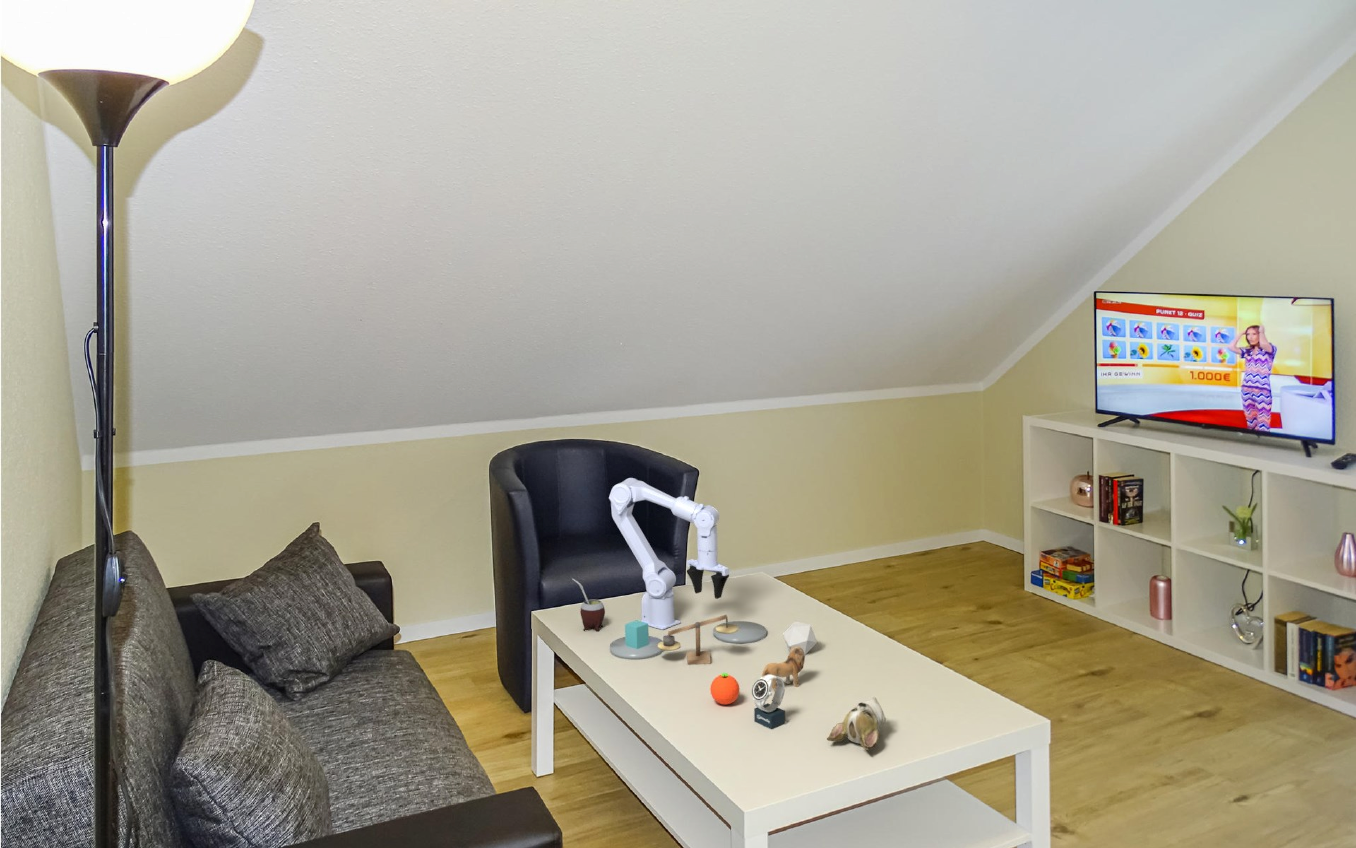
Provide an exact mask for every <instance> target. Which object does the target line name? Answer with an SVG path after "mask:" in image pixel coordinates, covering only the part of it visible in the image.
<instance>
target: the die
mask: <svg viewBox="0 0 1356 848" xmlns="http://www.w3.org/2000/svg"><path fill="white" fill-rule="evenodd" d="M782 637H783V640H784V642H785V644H786V648H787V649H788V651H789V652H790V650H791V649H792V648H794V647H800V648H802V649H803V651H804V653H805V655H807V654H808V653H809V651H810V650H812V648H813V647H814V646H815V645H816V644H817V643H818V641H817V637H816V635H815V632H814V630H813V628H812V625H811V624H809V623H804V622H800V621H797V620H795V621H794V622H793V623H791V625H790V626H789V627H788V628H787V629H785V630H784V631H783V633H782Z"/></svg>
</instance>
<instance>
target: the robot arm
mask: <svg viewBox="0 0 1356 848" xmlns="http://www.w3.org/2000/svg"><path fill="white" fill-rule="evenodd" d="M608 499H609V501H610V507H611V517H612V519H613V521H614V523H615V524H616V526H617V528H618V529H619V531H620V533H621V535H622V536H623V538H624V539H625V541H626V543H627V545H628V546H629V549H630V550H631V551H632V553H633V555H634V557H635V558H636V560H637V562H638V563H639V565H640V567H641V568H642V579H643V581H644V583H645V589H646V592H645V593H644V594H643V596H642V598H641V602H640V603H641V604H640V605H641V620H640V621H641V622H645V623H648V627H651V628H655V629H658V630H665V629H668V628H670V627H671V628H672V627H674V626H675V625H679V624H681V620H679V619H678V620H677V619H675V608H674V607H675V606H674V605H675V603H674V602H675V601H674V600H675V595H674V594H675V593H674V590H673V587H675V584H676V581H677V577H676V574H675V573H674V571H672V569H670V568H669V567H668V566H667V565H666V563H665V562H663V561H662V560H660V559H659V558H658V557H657V554H656V552H655V551H654V550H653V548H652V547H651V545H650V543H649V541H648V540H647V538H646V536H645V534H644V533H643V531H642V529H641V528H640V526H639V524H638V522H637V521H636V519H635V517H634V516H633V514H632V513H633V509H634V506H635V503H636V502H641V501H648V502H651V503H654V504H657V505H659V506H662V507H665V508H667V509H669V510H671V512H672V514H673V515H674V516H676V517H677V518H680V519H682V520H685V521H687V522H690V523H692V524H694V527H696V529H697V530H696V533H697V534H696V541H697V543H696V544H697V545H696V546H697V547H696V548H697V549H696V550H697V559H692V558H690V559H687V560H686V567H687V568H688V569H687V570H686V574H687V575H688V577H689V579H690V581H691V583H692V586H693V590H694V594H699V593H702V592H703V591H702V590H703V577H704V571H706V572H710V573H713V574H712V575H711V576H710V578H711V581H712V585H713V595H714V599H716V600H718V599H720V598H722V596H723V591H724V587H725V584H726V582H727V580H728V579H729V577H730V567H727V566H724V565H722V564H720V563H719V562H718V532H717V531H718V530H717V529H718V526H717V523H718V522H719V519H720V514H719V511H718V509H716V508H715V507H713V506H712V505H705V504H703V503H702V502H701V503H697V502H696V501H693V500H691V499H690V497H689V496H686V495H684V496H678V497H673V496H671V495H670V494H667V493H665V492H664V491H661V490H659V489H658V488H655V487H653V486H651V485H649V484H647V483H646V482H644V481H642V480H638V479H637V478H635V477H634V478H633V477H629V478H626V479H625V480H623V481H622V482H619V483H617V484H615V485H614V486H612V488H611V491H610V493H609V497H608ZM714 573H715V574H714Z"/></svg>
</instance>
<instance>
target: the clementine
mask: <svg viewBox="0 0 1356 848" xmlns="http://www.w3.org/2000/svg"><path fill="white" fill-rule="evenodd" d="M709 690H710V695H711V697H712V699H714V701H715V702H717V704H719V705H720V704H721V705H730V704H732V703H734V702H735V701H736V700H737V698H738V697H739V695H740V684H739V682H738V681H737V679H736V678H735V677H733V676H732V675H730V674H728V672H723V673H721V674H720V675H718V676H716V677H715V678H714V679H712V682H711V684H710V688H709Z"/></svg>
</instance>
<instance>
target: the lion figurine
mask: <svg viewBox="0 0 1356 848" xmlns="http://www.w3.org/2000/svg"><path fill="white" fill-rule="evenodd" d="M805 659H806V654H805V653H804V651H803V649H802V648H800V647H794V648H792V649H791V650H790V651H789V653H788V656H787V659H786V660H785V661H783V662H779V663H778V662H777V663H776V662H771V663H768V664H766V665H765V666H764V669H763V671H762V674H761V677H763V676H765V675H768V674H771V675H774V676H777V677H779V678H785V684H787V685H789V684H791V683H793V685H794V687H796V688H798V687H800V684H799V683H798V680H799V679H798V678H799V673H801V672H802V670H803V669H804V665H805ZM791 676H792V678H793V682H792V681H791V679H790V678H791ZM772 681H773V682H772V686H771V689H773V691H774V692H775V690H776V688H777V681H776V679H773V680H772Z"/></svg>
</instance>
